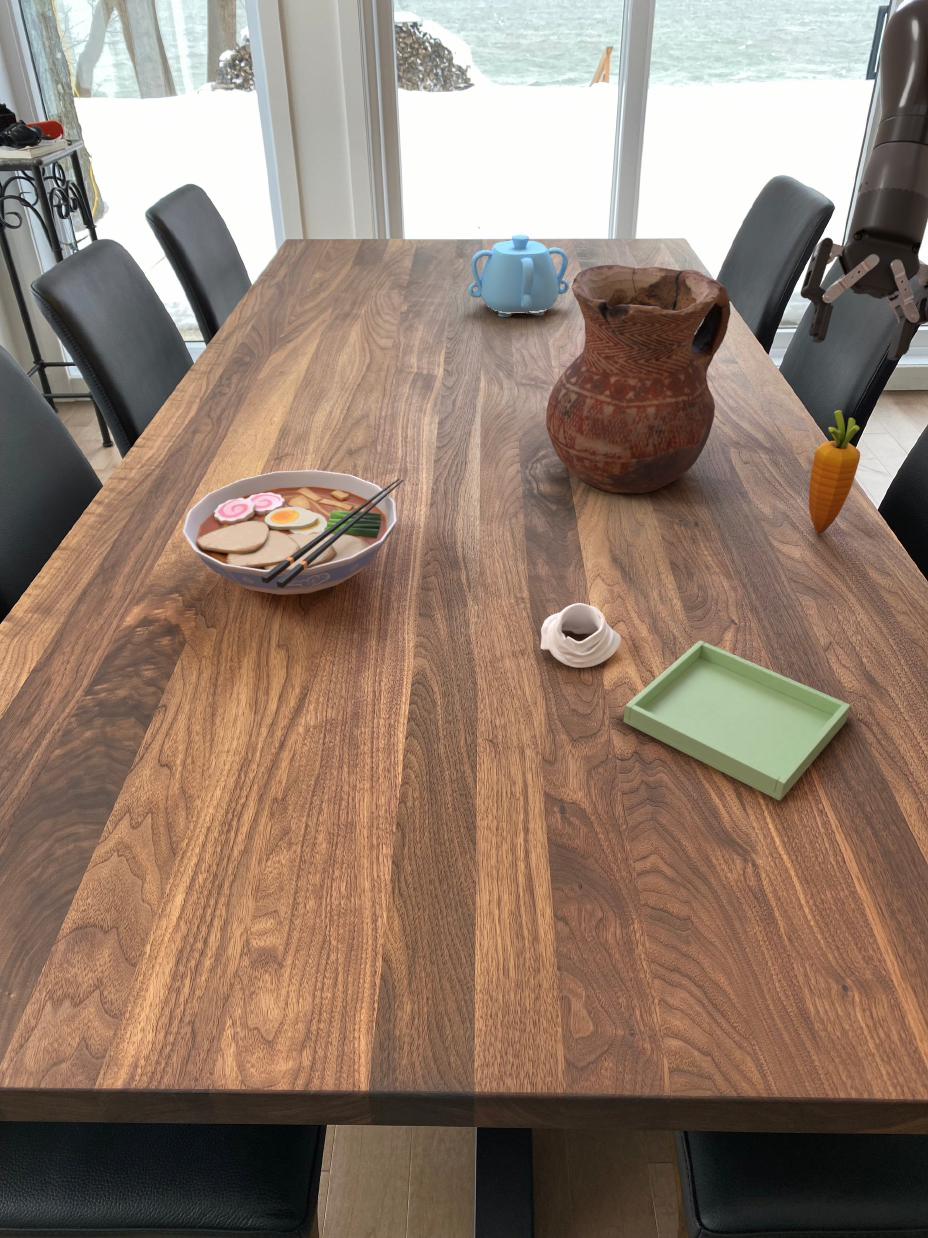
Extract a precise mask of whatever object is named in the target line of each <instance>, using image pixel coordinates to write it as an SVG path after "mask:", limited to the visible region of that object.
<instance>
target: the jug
mask: <svg viewBox="0 0 928 1238" xmlns="http://www.w3.org/2000/svg"><path fill="white" fill-rule="evenodd" d="M571 291H572V293H573V296H574V297H575V299H576V301H577V303H578V306H579V308H580V311H581V314H582V318H583V321H584V347H583V350H582V352H581V353H580V354H579V355H578V356H577V357H575V359H574V360H573V361H572V362H571V363H570V364H569V365H568V366H567V368H566V369H565V370H564V371H563V372H562V374H561V375H560V376H559V377H558V378H557V381H556V382H555V384H554V386H553V388H552V389H551V392H550V395H549V396H548V400H547V401H548V402H547V406H546V413H545V414H546V415H545V426H546V431H547V434H548V436H549V440H550V442H551V445H552V447H553V449H554V451H555V454H556V456H557V457H558V459H559V460H560V462H561V463H563V465H564V466H565V467H566V469H567V470H569V472H571V474H572V475H574V476H575V477H577V478H578V479H580V480H581V481H582V482H585V483H586V484H588V485H590V486H592V487H594V488H597V489H598V490H601V491H604V492H608V493H614V494H628V495H631V494H647V493H651V492H654V491H657V490H658V489H662V488H664V487H666V486H667V485H669V484H670V483H672V482H674V481H676V480H678V479H680V478H681V477H682V476H684V475H685V474H686V473H687V472H688V471H689V470H691V468H692V467H693V466H694V465H695V464H696V463H697V460H698V459H699V457H700V455H701V453H702V452H703V450H704V448H705V446H706V444H707V442H708V440H709V435H710V433H711V431H712V427H713V424H714V423H713V422H714V420H715V419H714V418H715V411H716V405H715V404H716V403H715V399H714V397H713V394H712V392H711V390H710V388H709V383H708V378H707V377H708V370H709V367H710V366H711V363H712V361H713V359H714V358H715V357H714V356H715V354H716V353H717V352H718V350H719V349H720V347H721V345H722V344H723V342H724V339H725V337H726V334H727V332H728V327H729V321H730V319H731V318H730V317H731V303H730V302H731V299H730V296H729V293H728V290H727V288H726V286H724V285H723V284H722V283H720V282H719V281H718V280H716V279H714V278H712V277H709V276H707V275H705V274H704V273H702V272H701V271H699V270H696V269H682V270H681V269H680V270H679V269H672V268H667V267H661V266H650V267H637V268H635V267H634V266H627V265H621V264H605V265H597V266H591V267H588V268H585V269H583V270H581V271H578V273H577V274H576V275H575V277H574V278H573V281H572V284H571Z"/></svg>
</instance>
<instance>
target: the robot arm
mask: <svg viewBox="0 0 928 1238" xmlns="http://www.w3.org/2000/svg"><path fill="white" fill-rule="evenodd" d="M880 45H881V46H880V52H879V54H880V55H879V102H880V117H879V121H878V124H877V128H876V132H875V135H874V141H873V145H872V148H871V153H870V154H869V155H870V156H869V158H868V161H867V163H866V166H865V168H864V172H863V174H862V178H861V182H860V184H859V187H858V190H857V199H856V202H855V205H854V211H853V214H852V218H851V222H850V227H849V230H848V234H847V239H846V242H845V244H844V245H840V244H837V243H834V241H833V239H832V238H831V237H825V238H823V239H822V240H820V242H818V243H817V244H815V246H814V247H813V250H812V252H811V253H812V254H811V256H810V260H809V262H808V263H809V264H808V266H807V269H806V273H805V276H804V279H803V282H802V286H801V289H800V297H801V298H803V299H808V300H809V301H810V302H812V304H813V305H814V306H813V307H814V310H813V313H812V317H811V321H810V325H809V329H808V333H809V336H810V337H812V339H811V342H812V343H816V344H821V343H823V342H824V341H825V339H826V337H827V334H828V330H829V325H830V321H831V318H832V314H833V309H834V305H832V303H833V302H834V301H835V300H836V299H837V298H838V297H840V296H841V295H842V294H843V293H845V292H846V291H847V290H848V289H850V290H851V291H853V292H852V293H853V294H856V295H868V296H869V297H872V298H875V299H879V300H881V299H885V300H886V302H887V304H888V307H889V308H890V309H891V310H892V311H893V314H894V316H895V318H896V320H897V323H898V324H897V325H895V326H894V329H893V333H892V337H891V341H890V345H889V349H888V353H887V360H890V361H897V360H900V359H902V356H904V355H906V354H907V353H908V352H909V350H910V346H911V341H912V339H913V334H914V331H915V328H916V326H917V325H920V326H923V325H925V324H927V323H928V264H925V263H920V259H919V254H920V249H921V246H922V244H923V239H924V237H925V231H926V228H927V224H928V0H903V1H901V3H900V4H899V5H898V6H897V7H896V8H895V10H894V11H893V13H892V15H891V16H890V18H889V20H888V21H887V24H886V26H885V29H884V32H883V35H882V37H881V43H880ZM835 258H838V259H837V260H838V262H839V265H840V268H841V270H842V272H843V275H841V277H839V279H837V280H836V281H835V282H833V283H832V284H831V285H830V286H829V287H828V288H827V289H826V290H825V289H824V288H822V287H821V285H822V282H823V278H824V275H825V272H826V268H827V266H828V265H829V264H831V263H833V261H834V260H835ZM915 276H917V278H918V285H919V286H920V287H921V290H920V294H919V299H918V305H916V303H915V301H914V299H915V295H914V292H913V290H912V286H911V284H910V282H909V281H910V280H911V279H912V278H914V277H915Z"/></svg>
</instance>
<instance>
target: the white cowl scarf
mask: <svg viewBox="0 0 928 1238" xmlns="http://www.w3.org/2000/svg"><path fill="white" fill-rule="evenodd" d="M563 631H569V632H572V633H573V634H574V635H575V634H576V635H589V636H588V637H587V638H585V639H583V640H581V641H578V640H575V639H574V638H572V637H570V636H566V635H565V634H564V633H563ZM590 634H591V635H590ZM540 635H541V640H540V649H541V650H542V651H549V652H550V654H551V655H552V656H553V658H555V660H557V661H559V662H560V663H562V664H564V665H565V666H569V667H572V668H590V667H595V666H597V665H599V664H602V663H603V662H605V661H607V660H608V659H610V658H612V656H613V655H614V654H615V653H616V652H617V651H618V649H619V647H620V646H621V643H622V637H621V635H620V634H619V633H618V632H617V631H615V630H614V629H613V628H612V627H611V625H609V624H608V623H607V621H606V618H605V616H604V614H603V612H602V611H601V610H600V609H599V608H597V607H596V606H593V605H589V604H587V603H582V602H581V603H580V602H578V603H577V602H576V603H572V604H570V605H567V606H566V607H564V608H563V609H562V610H561V611H560V612H556V613H554V614H551V615H550V616H548V617H546V619H545V620H543V623H542V626H541V628H540Z"/></svg>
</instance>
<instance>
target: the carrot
mask: <svg viewBox="0 0 928 1238" xmlns="http://www.w3.org/2000/svg"><path fill="white" fill-rule="evenodd" d="M833 415H834V418H835V419H834V420H835V423H836V427H837V428H836V427H833V426H829V427H827V428H828V432H829V433H830V434H831V437H832V438H833V440H829V441H824V442H822V443H821V444H820V445H819V447H818V448H817V449H816V451H815V453H814V457H813V461H812V467H811V473H810V478H809V485H808V486H809V487H808V511H809V515H810V519H811V523H812V525H813V529H814V530H815V531H816V533H817V534H823V533H825V532H826V531H827V530H828V528H829V527H830V526H831V525H832V524H833V522H835V520H836V518H837V517H838V516H839V514H840V512H841V511H842V508H843V506H844V505H845V502H846V500H847V498H848V496H849V494H850V491H851V489H852V486H853V483H854V481H855V480H854V479H855V478H856V477H855V476H856V473H857V470H858V467H859V463H860V460H861V451H860V450H859V449H858V448H857V447H856V446H854V445H853V444H851V443H850V441H851V440H852V438H854V436H855V435H856V434H857V432H858V431H859V430H860V426H859V425H857V424H856V419H854V418H853V417H849V418H848V421H847V428H846V425H845V420H844V415H843V413H842V410H837V409H836V410H835V411H834V412H833Z"/></svg>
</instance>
